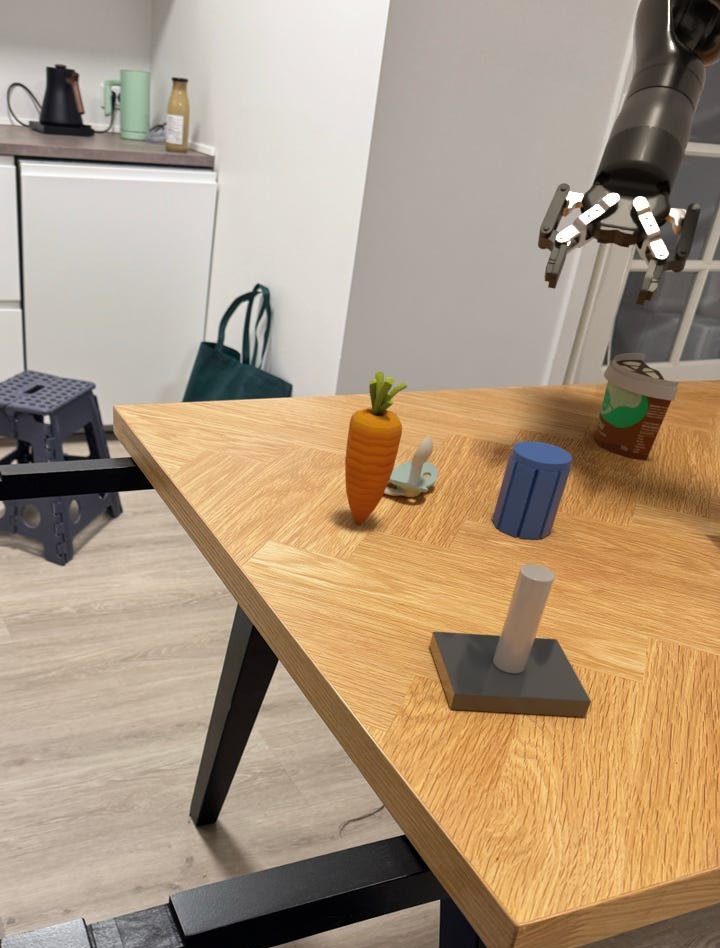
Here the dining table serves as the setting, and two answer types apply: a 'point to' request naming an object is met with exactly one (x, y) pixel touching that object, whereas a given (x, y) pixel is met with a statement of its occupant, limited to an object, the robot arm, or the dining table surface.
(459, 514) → the dining table surface
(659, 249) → the robot arm
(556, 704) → the peg stand
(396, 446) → the carrot
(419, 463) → the pacifier
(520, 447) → the cap
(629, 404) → the food container
